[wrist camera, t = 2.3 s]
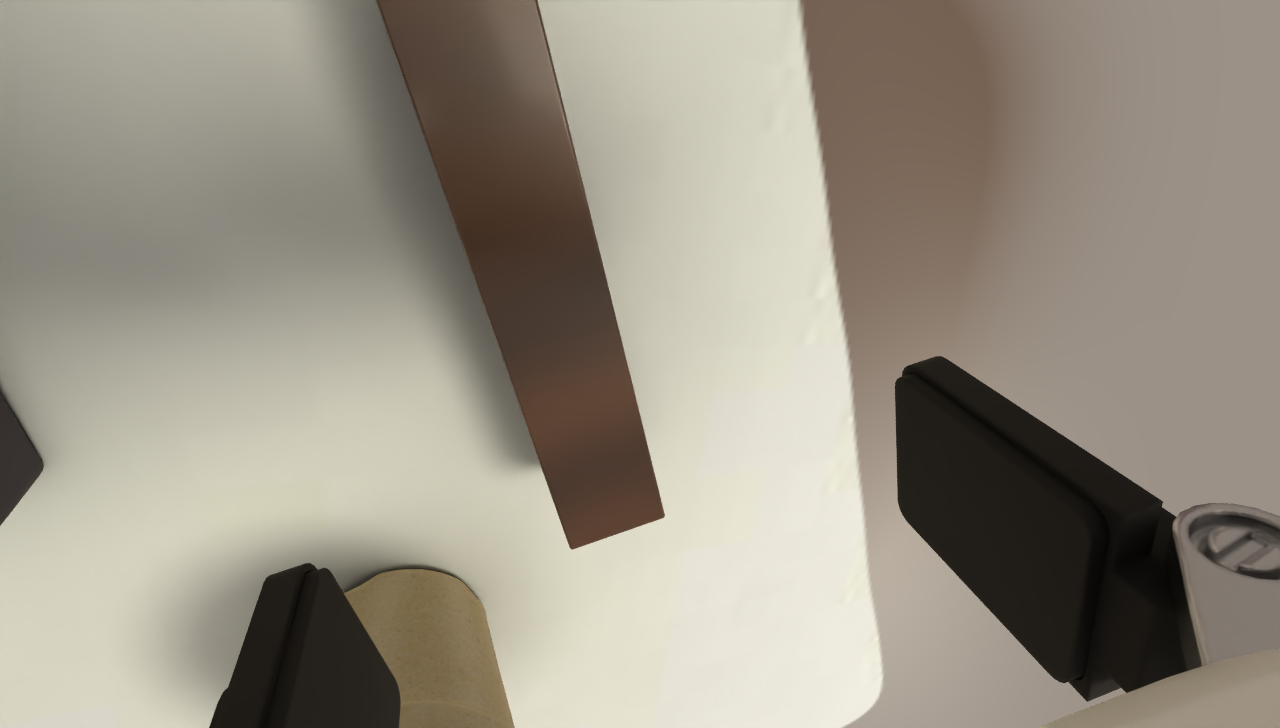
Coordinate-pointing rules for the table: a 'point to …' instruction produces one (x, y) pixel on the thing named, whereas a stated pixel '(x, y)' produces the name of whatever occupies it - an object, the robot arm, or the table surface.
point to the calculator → (15, 462)
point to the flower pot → (434, 649)
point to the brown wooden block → (530, 247)
